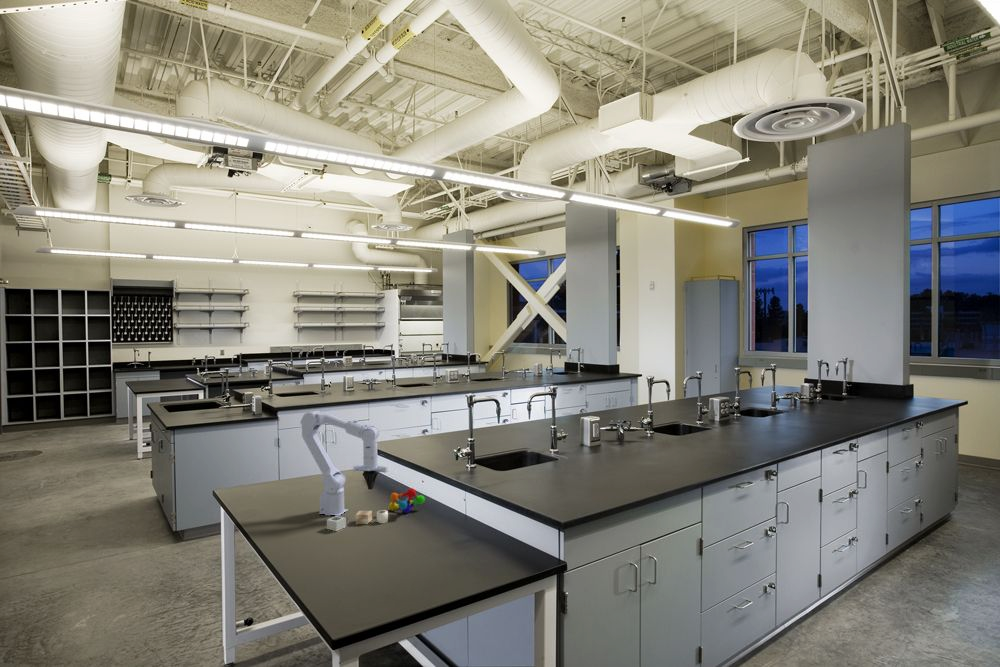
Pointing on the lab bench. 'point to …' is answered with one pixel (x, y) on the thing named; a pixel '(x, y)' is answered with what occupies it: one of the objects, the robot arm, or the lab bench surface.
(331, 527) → the grey labelled block
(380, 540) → the lab bench surface
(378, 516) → the offwhite stopper
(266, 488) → the lab bench surface
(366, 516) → the beech block
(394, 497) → the molecular model
